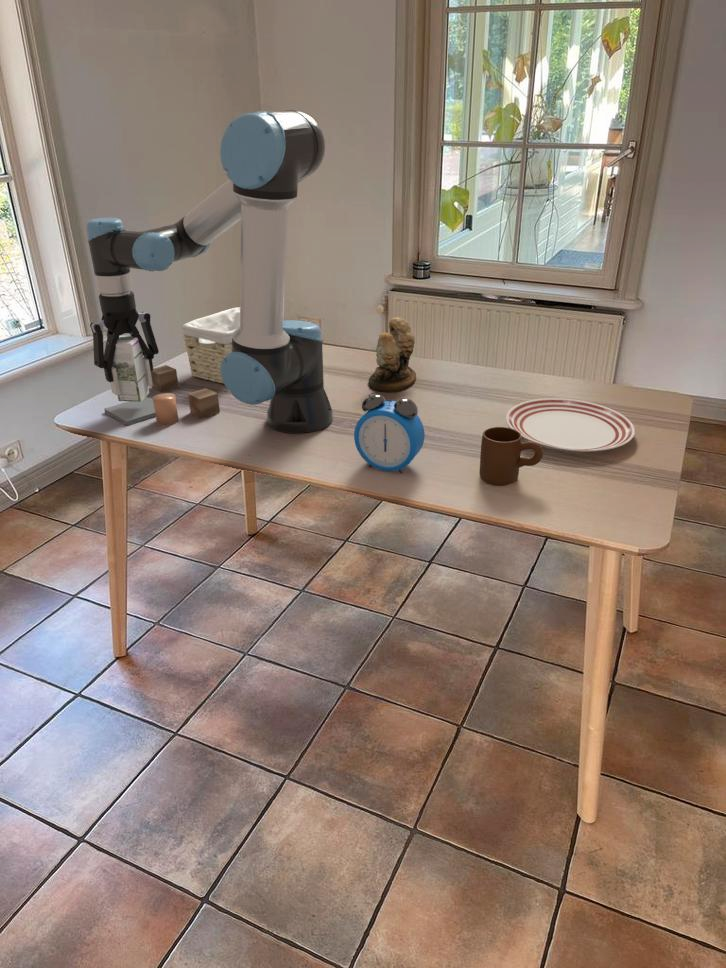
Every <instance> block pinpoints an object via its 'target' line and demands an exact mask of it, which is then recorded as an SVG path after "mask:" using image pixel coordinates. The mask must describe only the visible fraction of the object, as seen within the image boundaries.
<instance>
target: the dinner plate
mask: <svg viewBox="0 0 726 968" xmlns="http://www.w3.org/2000/svg"><path fill="white" fill-rule="evenodd" d="M505 421H506V423H507V425H508V428H511V429H514V430H517V431H518V432H520V434H521V436H522V438H523V439H525V440H527V441H533V442H536V443H538V444H539V445H540V446H541V447H545V448H547V449H548V448H549V449H553V450H557V451H563V452H564V451H565V452H573V453H589V452H602V451H607V450H609V451H610V450H612V449H617V448H620V447H622V446H624V445H626V444H628V443H629V442H631V440H633V438H634V437H635V433H636V428H635V426H634V424H633V423H632V422H631V420H630V419H628V417H626V416H625V415H623V413H621V412H618V411H617V410H614V409H612V408H609V407H607V406H605V405H601V404H597V403H594V402H589V401H585V400H578V399H573V398H561V397H560V398H559V397H557V398H556V397H555V398H554V397H553V398H549V397H548V398H535V399H531V400H527V401H523V402H521V403H518V404H515V405H514V406H512V407H511V408H510V409H509V410H508V412H507V413H506V415H505Z"/></svg>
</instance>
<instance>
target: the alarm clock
mask: <svg viewBox="0 0 726 968" xmlns="http://www.w3.org/2000/svg"><path fill="white" fill-rule="evenodd" d="M361 409H362V411H363V412H365V413H364V414H363V415H362V416H361V417H360V418H359V419H358V421H357V422H356V424H355V427H354V433H353V438H354V439H353V440H354V444H355V447H356V450H357V452H358V454H359V456H360V457H361V458H362V459H363V460H364V461H365V462H366V463H367V464H368V465H369V466H368V467H369V468H371V467H373V468H374V469H378V470H379V471H384V472H396V471H398V472H399V473H400V474H403V471H402V469H405V468H406V467H407V466H408V465H409V464H411V462H412V461H413V460H414V459H415V457H416V456H417V455H418V454H419V453H420V451H421V449H422V448H423V445H424V442H425V436H426V435H425V427H424V425H423V422H422V420H421V418H420V416H419V415H418V412H419V409H418V406H417V404H416V402H415V401H413V400H412V399H410V398H409V397H408V398H406V397H402V398H398V399H397V400H396V401H395V400H393V399H388V398H387V399H386V398H385V397H384V396H383V395H382V394H379V393H373V394H368V396H366V398H364V400H363V401H362V403H361Z"/></svg>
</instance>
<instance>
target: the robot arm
mask: <svg viewBox="0 0 726 968" xmlns="http://www.w3.org/2000/svg"><path fill="white" fill-rule="evenodd" d="M219 146H220V147H219V155H220V163H221V167H222V168H223V171H225V172H226V177H227V178H228V179H227V181H225V182H224V183H222V184H221V185H220V186H218V188H217V189H216V190H214V191H212V193H210V194H209V195H208V196H206V198H204V199H203V200H202V201H201V202H199V203H198V204H197V205H196V206H194V207H193V208H192V209H191V210H190V211H189V212H187V213H186V214H185V215H184V216H183V217H181V218H180V219H179V220H178V221H176V222H175V223H173V224H167V225H165V226H162V227H161V226H160V227H157V228H151V229H148V230H143V231H133V230H126V229H125V227H124V224H123V221H122V220H121V219H120V218H117V217H99V218H93V219H90V220H88V221H87V222H86V225H85V226H86V235H87V243H88V247H89V251H90V257H91V262H92V266H93V273H94V277H95V283H96V287H97V288H96V289H97V292H98V293H99V295H98V300H99V305H100V310H101V314H102V315H101V316H102V317H101V319H100V321H97V322H91V323H90V324H89V327H90V329H91V331H92V340H93V341H92V343H93V362H94V366H95V367H98V368H100V369H103V370H104V376H105V380H106V382H108V383H110V388H111V394H113V395H115V396H117V397H118V395H121V394H120V389H119V383H118V378H117V372H116V368H114V367H112V365H113V360H114V355H115V350H116V344H117V340H118V339H119V336H124V334H129V336H133V337H137V338H138V341H139V344H140V346H141V348H142V353H143V360H144V366H145V372H146V378H147V384H148V387H152V386H153V383H152V377H151V371H153V369H154V363H153V359H154V358H155V355H158V354H159V347H158V344H157V340H156V338H155V334H154V331H153V327H152V324H151V314H150V313H148V312H145V311H141V312H138V311H137V308H136V307H137V305H136V298H135V293H134V291H133V289H134V287H133V280H132V279H133V278H132V273H131V269H136V270H143V271H148V272H156V271H157V272H164V271H167V270H168V269H169V267H170V266H171V265H172V264H173V263H176V262H178V261H181V260H186V259H190V258H196V257H198V256H200V255H202V254H204V253H206V252H207V251H208V250H209V248H210V245H211V243H212V242H213V241H214V240H216V239H217V238H218V237H220V236H221V235H222V234H224V233H225V232H226V231H228V230H229V229H230V228H232V227H233V226H234V225H236V224H237V223H238V222H239V221H240V277H239V278H240V279H239V280H240V282H239V283H240V285H239V286H240V288H239V303H240V304H239V307H240V327H239V328H237V329H236V330H235V331H234V332H233V334H232V352H231V353H228V354H227V356H226V357H225V358H224V359H223V361H222V363H221V369H220V370H221V377H222V380H223V382H224V386H225V388H226V389H227V390H228V391H229V392H230V394H231V395H232V396H233V397H234V398H235V399H237V401H239V402H241V403H243V404H246V405H251V406H252V405H253V406H254V405H259V404H263V403H265V402H267V401H269V406H268V409H267V411H266V415H267V417H266V418H267V424H268V426H269V427H271V428H272V429H274V430H276V431H279V432H282V433H289V434H307V433H311V432H312V433H313V432H316V431H320V430H323V429H325V428H327V427H329V426H330V425H331V423H332V422H333V418H334V414H333V408H332V406H331V403H330V400H329V397H328V394H327V392H326V389H325V384H324V383H325V382H324V359H323V354H324V353H323V342H324V340H323V337H322V329H321V328H320V326H319V325H318V324H316V323H314V322H310V321H304V320H296V319H295V320H293V319H290V320H289V319H288V320H285V319H284V314H285V313H284V312H285V310H284V309H285V293H286V292H285V290H286V289H285V288H286V287H285V286H286V269H287V267H286V266H287V265H286V263H287V245H288V243H287V241H288V221H289V207H290V205H291V204H293V202H294V201H296V200H297V199H298V189H299V183H301V182H302V181H304V180H306V179H307V178H308V177H310V176H312V174H314V173H315V172H316V171H317V170H318V169H319V167H320V166H321V164H322V163H323V160H324V156H325V151H326V141H325V136H324V134H323V131H322V128H321V127H320V125H319V124H318V122H317V121H316V120H315V119H314V118H313V117H312V116H310V115H309V114H307V113H305V112H303V111H300V110H296V109H291V110H289V109H287V110H269V111H266V110H265V111H264V110H261V111H260V110H256V111H252V112H248V113H243V114H241V115H239V116H237V117H235V118H234V119H233V120H232V121H231V122H230V123H229V124H228V125H227V126H226V128H225V129H224V132H223V135H222V137H221V140H220V145H219ZM138 321H139V322H140V326H141V329H142V332H143V335H144V339H145V341H146V342H145V341H144V339H143V338H142V336H141V334H140V331H139V329H138V327H137V326H136V325H137V322H138ZM104 327H105V328H106V329H107V331H106V337H107V338H106V342H105V343H106V344H105V348H104V334H103V332H104V331H105V329H104Z"/></svg>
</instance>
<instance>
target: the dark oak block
mask: <svg viewBox="0 0 726 968" xmlns="http://www.w3.org/2000/svg"><path fill="white" fill-rule="evenodd" d="M151 377H152V383H153V386H151V388H152V389H154V390H156V391H157V392H160V393H167V392H169V391H172V390H176V389H179V388H180V386H179V379H178V372H177V369H176V368H174V367H171V366H170V365H166V364H165V365H161V366H157V367H153V371H151Z"/></svg>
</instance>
